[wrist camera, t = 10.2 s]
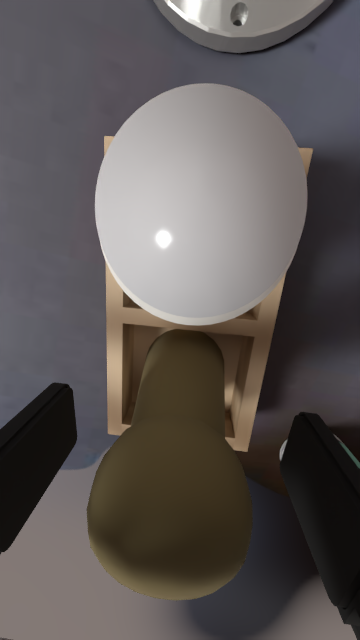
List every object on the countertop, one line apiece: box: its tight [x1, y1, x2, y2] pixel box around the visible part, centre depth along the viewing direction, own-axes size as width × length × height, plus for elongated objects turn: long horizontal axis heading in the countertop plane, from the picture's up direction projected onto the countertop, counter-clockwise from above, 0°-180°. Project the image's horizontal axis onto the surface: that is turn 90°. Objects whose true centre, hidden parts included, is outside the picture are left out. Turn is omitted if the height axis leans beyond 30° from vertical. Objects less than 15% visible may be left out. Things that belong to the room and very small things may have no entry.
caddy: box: [104, 136, 313, 452], centre depth 14 cm, size 18×10×4 cm, turn 175°
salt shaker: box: [95, 83, 307, 326], centre depth 9 cm, size 5×5×10 cm
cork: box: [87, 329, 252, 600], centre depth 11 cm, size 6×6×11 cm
